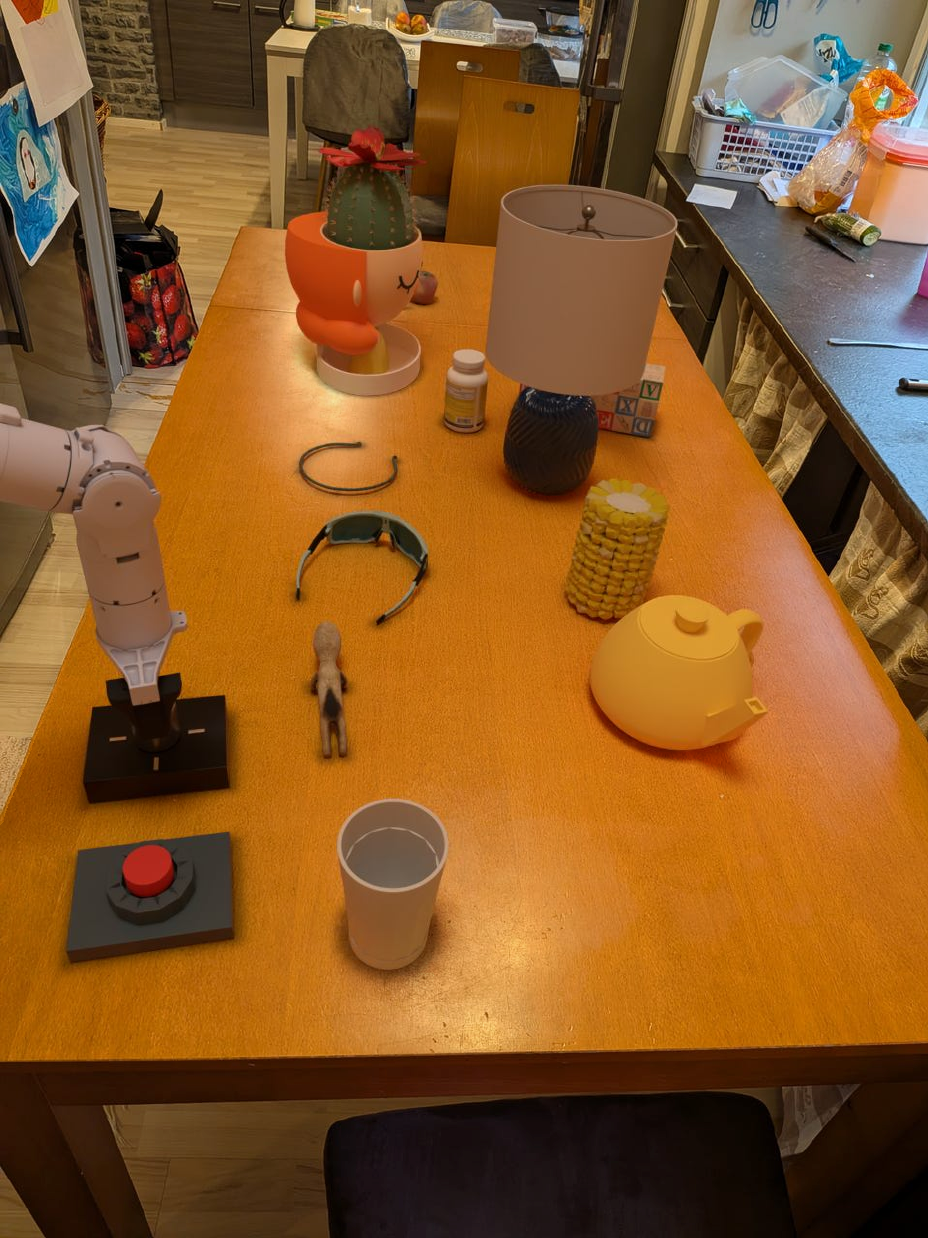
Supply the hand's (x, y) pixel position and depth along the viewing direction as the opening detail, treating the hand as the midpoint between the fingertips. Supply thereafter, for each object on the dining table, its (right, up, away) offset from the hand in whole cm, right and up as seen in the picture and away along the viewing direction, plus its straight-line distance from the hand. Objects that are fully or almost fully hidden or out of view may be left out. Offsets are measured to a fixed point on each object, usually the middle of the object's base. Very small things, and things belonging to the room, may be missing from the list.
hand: (151, 704), depth 79 cm
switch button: (+3, -13, -8) cm, 16 cm away
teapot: (+50, -2, +15) cm, 52 cm away
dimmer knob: (0, -3, +3) cm, 4 cm away
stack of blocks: (+47, +39, +63) cm, 88 cm away
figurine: (+14, -1, +12) cm, 18 cm away
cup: (+21, -18, -7) cm, 29 cm away
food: (+44, +10, +29) cm, 54 cm away
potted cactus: (+9, +50, +71) cm, 87 cm away
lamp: (+39, +27, +48) cm, 67 cm away
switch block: (+3, -15, -6) cm, 17 cm away
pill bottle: (+27, +37, +58) cm, 74 cm away
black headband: (+11, +28, +45) cm, 55 cm away
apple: (+19, +68, +94) cm, 118 cm away
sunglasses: (+16, +12, +28) cm, 34 cm away
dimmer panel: (-1, -5, +5) cm, 7 cm away
